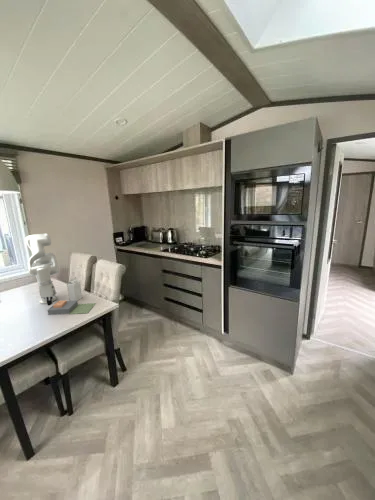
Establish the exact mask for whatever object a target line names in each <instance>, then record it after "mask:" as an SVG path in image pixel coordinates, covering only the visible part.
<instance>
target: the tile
mask: <svg viewBox="0 0 375 500" xmlns="http://www.w3.org/2000/svg"><path fill="white" fill-rule="evenodd" d="M67 301H68V300H58V301H56V302H55V303H56V304H55V303H54V304H53V305H52V306H53V307H54V308H61V307H63V306H64V305H65V304H66V303H67Z"/></svg>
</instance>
